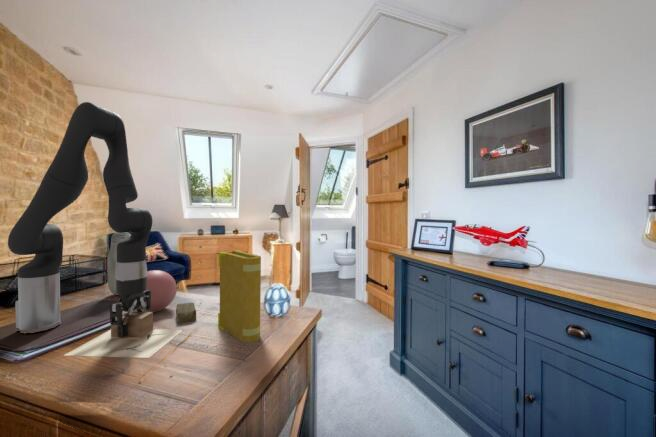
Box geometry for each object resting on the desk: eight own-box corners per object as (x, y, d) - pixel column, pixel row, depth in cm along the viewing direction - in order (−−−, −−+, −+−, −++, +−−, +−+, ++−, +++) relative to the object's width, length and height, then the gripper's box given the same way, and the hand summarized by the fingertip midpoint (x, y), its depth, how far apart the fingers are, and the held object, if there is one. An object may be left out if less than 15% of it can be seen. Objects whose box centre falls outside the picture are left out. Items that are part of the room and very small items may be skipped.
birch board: (63, 361, 71) (63, 355, 71) (112, 333, 87) (112, 328, 87) (149, 363, 71) (149, 357, 71) (182, 334, 87) (182, 330, 87)
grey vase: (115, 291, 128) (114, 230, 127) (140, 290, 130) (139, 230, 129) (103, 298, 118) (102, 232, 117) (130, 297, 121) (129, 232, 120)
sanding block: (111, 338, 80) (110, 317, 80) (124, 330, 85) (123, 311, 85) (141, 339, 80) (141, 318, 80) (153, 331, 85) (153, 312, 85)
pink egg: (162, 298, 119) (162, 263, 119) (183, 310, 107) (183, 270, 106) (118, 308, 107) (118, 268, 107) (137, 322, 95) (136, 278, 94)
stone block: (177, 328, 91) (177, 313, 91) (175, 316, 101) (175, 303, 101) (197, 325, 94) (197, 310, 94) (193, 314, 104) (193, 300, 104)
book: (218, 327, 93) (218, 252, 92) (236, 321, 98) (237, 250, 97) (245, 344, 81) (246, 259, 80) (264, 337, 86) (265, 256, 85)
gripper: (136, 270, 89) (136, 321, 90) (98, 282, 75) (99, 342, 76) (159, 270, 89) (159, 321, 90) (126, 282, 75) (126, 343, 76)
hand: (132, 331), depth 83 cm, fingers open, 7 cm apart
